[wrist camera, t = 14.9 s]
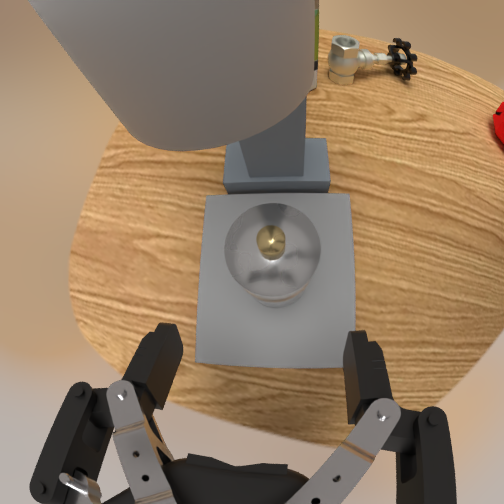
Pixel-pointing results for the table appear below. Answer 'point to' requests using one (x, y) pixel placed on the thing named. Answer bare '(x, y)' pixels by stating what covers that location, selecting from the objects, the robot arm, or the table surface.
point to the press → (229, 149)
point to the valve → (366, 59)
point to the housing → (273, 253)
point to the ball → (499, 122)
